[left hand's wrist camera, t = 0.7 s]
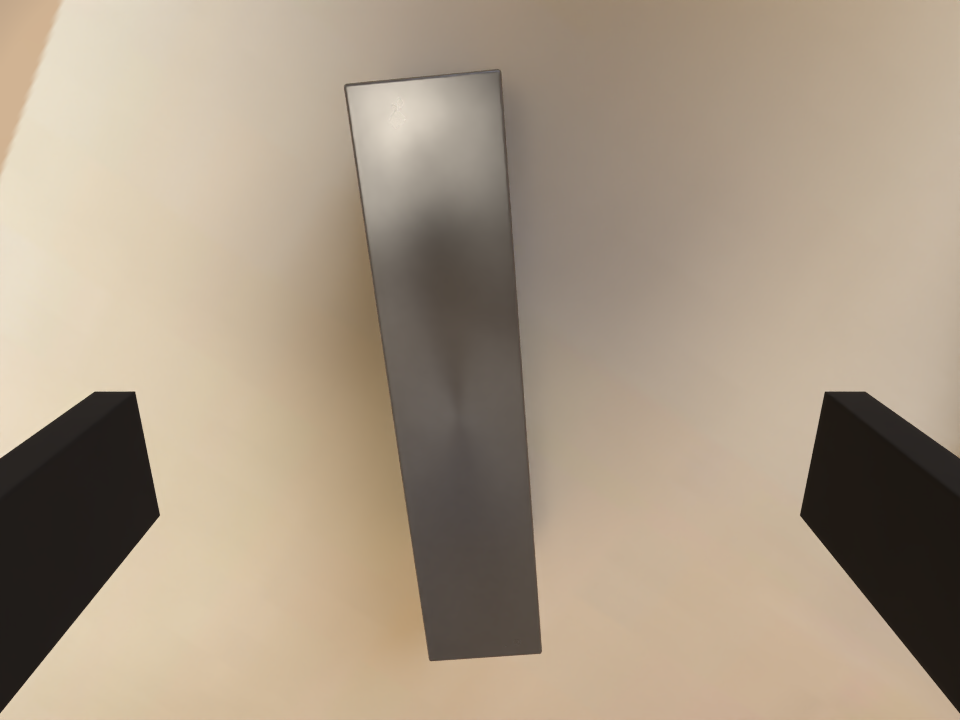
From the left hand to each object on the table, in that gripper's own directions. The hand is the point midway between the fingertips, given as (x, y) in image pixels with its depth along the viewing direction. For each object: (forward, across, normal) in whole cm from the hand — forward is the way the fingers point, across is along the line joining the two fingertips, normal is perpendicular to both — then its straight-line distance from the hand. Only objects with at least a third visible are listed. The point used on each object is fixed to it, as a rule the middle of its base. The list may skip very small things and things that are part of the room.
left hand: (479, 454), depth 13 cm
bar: (+19, -1, -4) cm, 19 cm away
